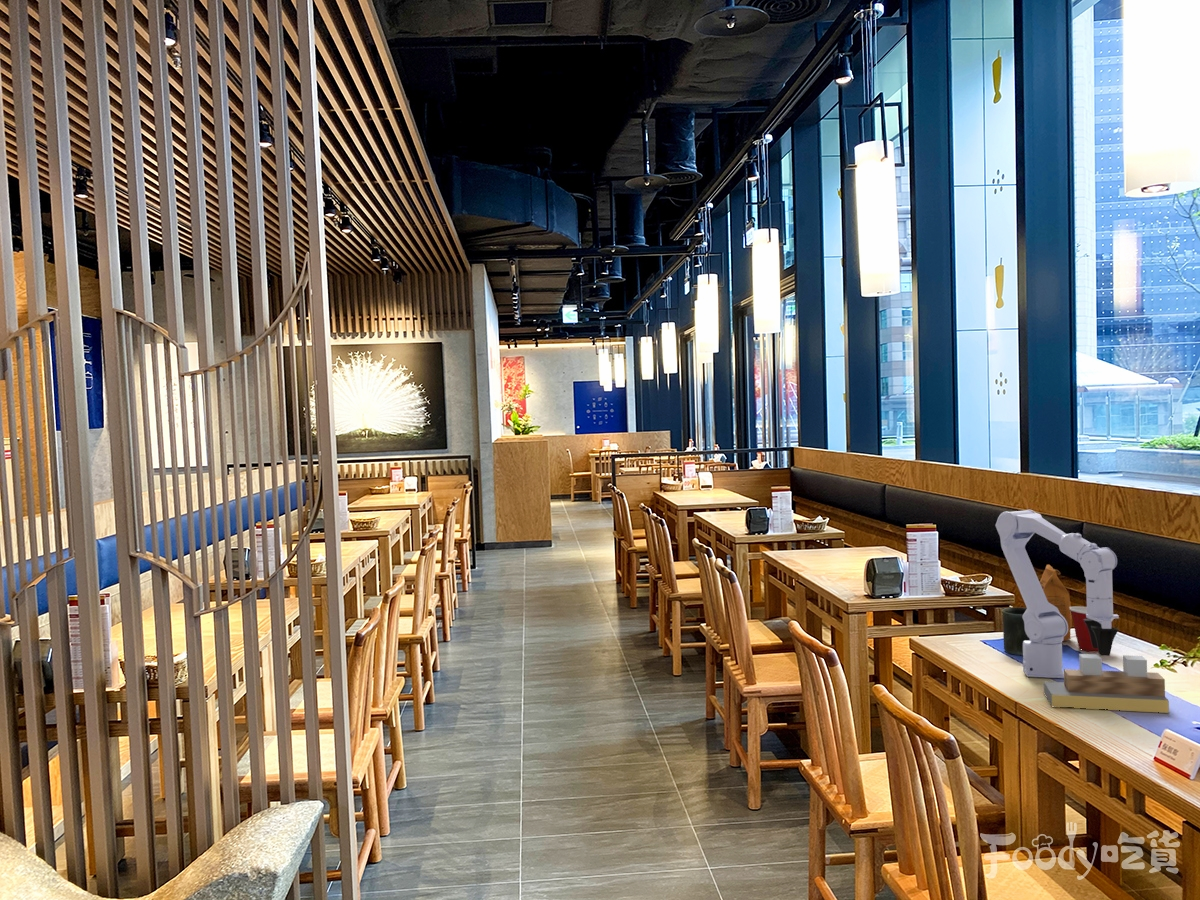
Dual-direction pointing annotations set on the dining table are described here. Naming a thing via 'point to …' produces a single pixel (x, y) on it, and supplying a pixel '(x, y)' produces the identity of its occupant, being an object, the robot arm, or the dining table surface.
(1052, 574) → the coffee package
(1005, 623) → the mug
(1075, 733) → the dining table surface
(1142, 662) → the block
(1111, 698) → the dock
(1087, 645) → the plastic cup
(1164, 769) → the dining table surface
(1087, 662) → the block
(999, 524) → the robot arm
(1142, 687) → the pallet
